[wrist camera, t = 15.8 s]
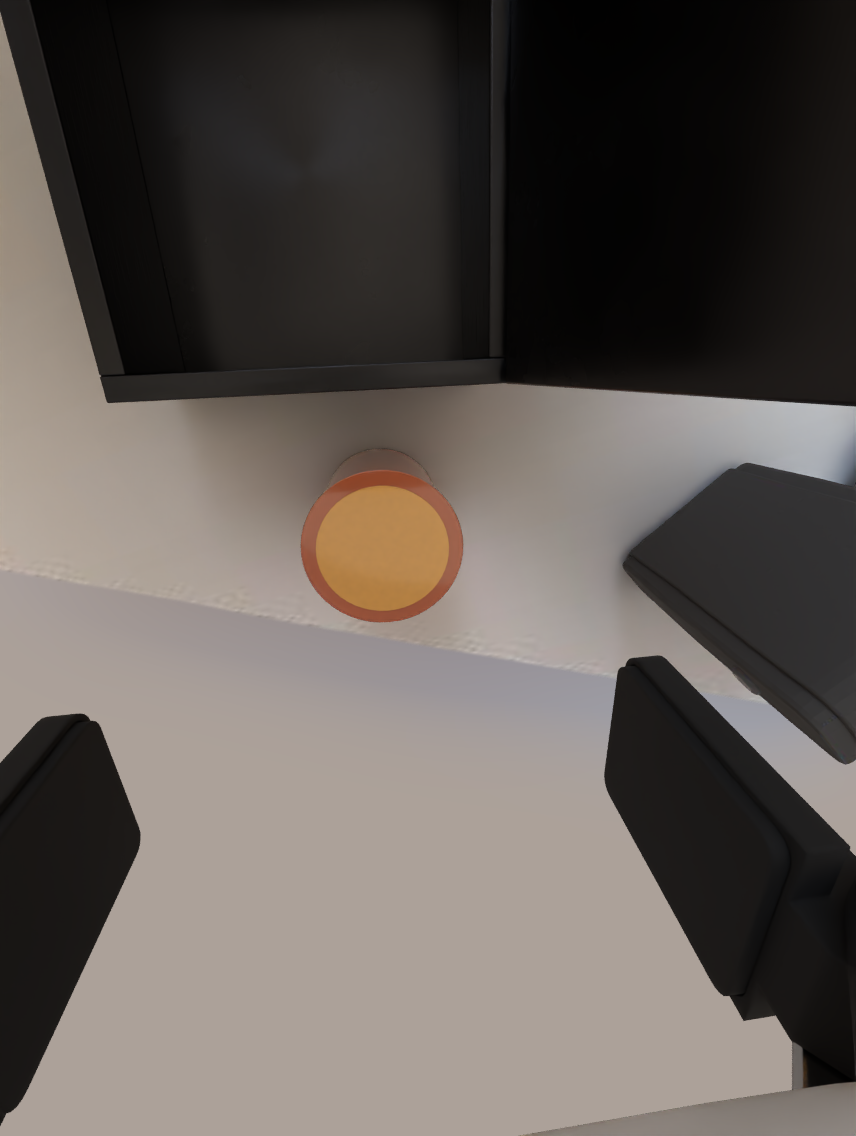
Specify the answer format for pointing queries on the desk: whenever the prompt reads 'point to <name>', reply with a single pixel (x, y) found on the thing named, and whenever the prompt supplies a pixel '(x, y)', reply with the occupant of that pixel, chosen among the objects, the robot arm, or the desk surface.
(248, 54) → the black open box
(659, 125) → the black box lid
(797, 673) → the card reader
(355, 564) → the ramekin
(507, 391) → the desk surface
